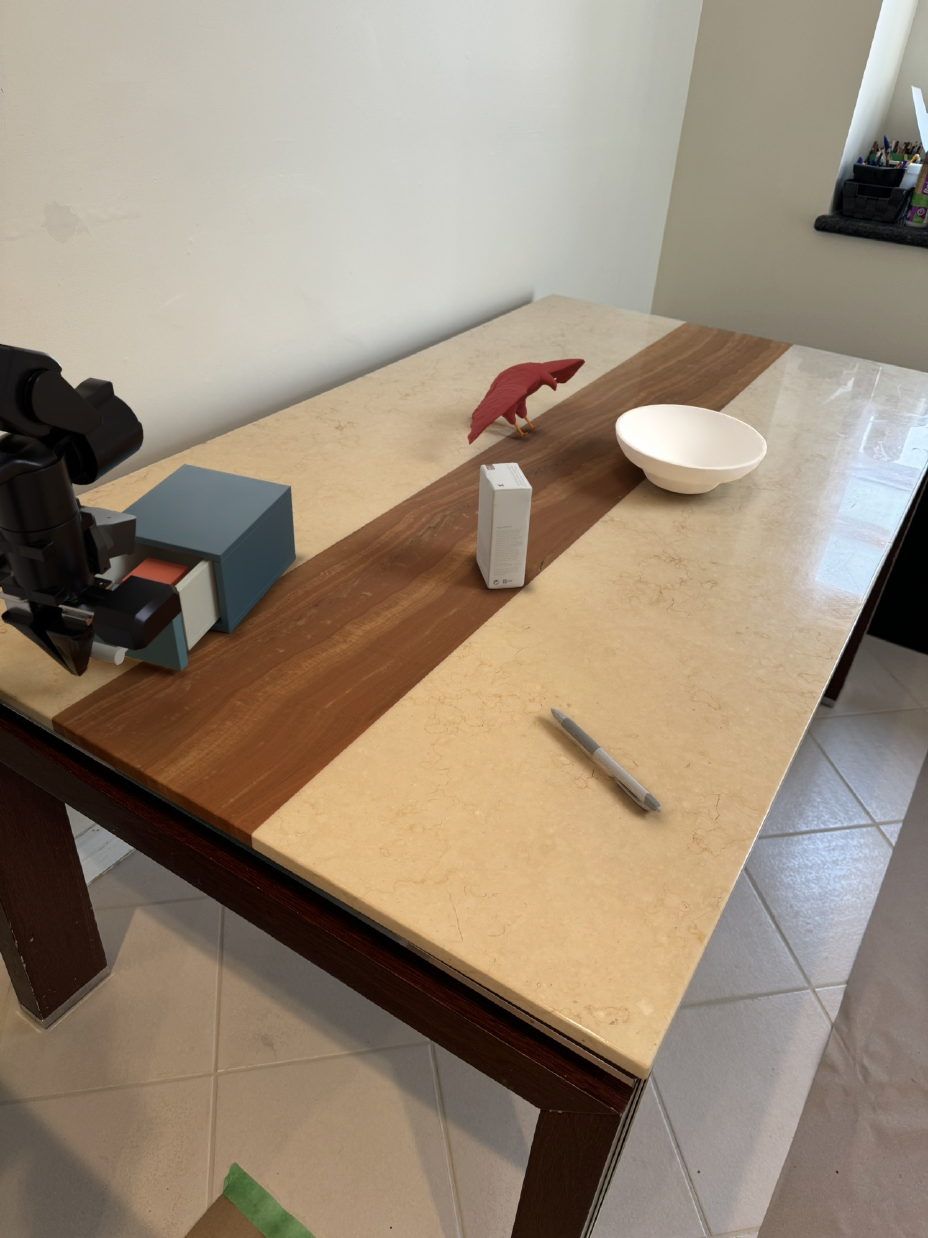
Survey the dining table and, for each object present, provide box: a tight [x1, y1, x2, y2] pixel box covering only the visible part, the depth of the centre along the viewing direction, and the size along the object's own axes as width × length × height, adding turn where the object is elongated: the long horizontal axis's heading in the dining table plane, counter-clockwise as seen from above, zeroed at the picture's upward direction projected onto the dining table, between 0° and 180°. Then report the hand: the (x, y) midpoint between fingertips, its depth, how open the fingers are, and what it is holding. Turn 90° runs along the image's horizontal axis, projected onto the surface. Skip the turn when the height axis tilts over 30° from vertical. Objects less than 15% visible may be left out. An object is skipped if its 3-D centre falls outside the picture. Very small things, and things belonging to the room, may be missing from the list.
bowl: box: [615, 403, 768, 495], centre depth 116 cm, size 20×20×7 cm
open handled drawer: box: [90, 542, 221, 672], centre depth 81 cm, size 18×11×7 cm, turn 163°
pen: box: [550, 707, 663, 814], centre depth 74 cm, size 1×14×1 cm, turn 35°
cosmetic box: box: [476, 462, 533, 590], centre depth 93 cm, size 6×4×12 cm
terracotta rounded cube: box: [121, 557, 189, 586], centre depth 83 cm, size 4×4×4 cm
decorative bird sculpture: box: [466, 358, 586, 446], centre depth 125 cm, size 28×9×15 cm
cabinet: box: [120, 463, 297, 634], centre depth 90 cm, size 15×13×9 cm
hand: (79, 672), depth 74 cm, fingers closed, pressing on open handled drawer
